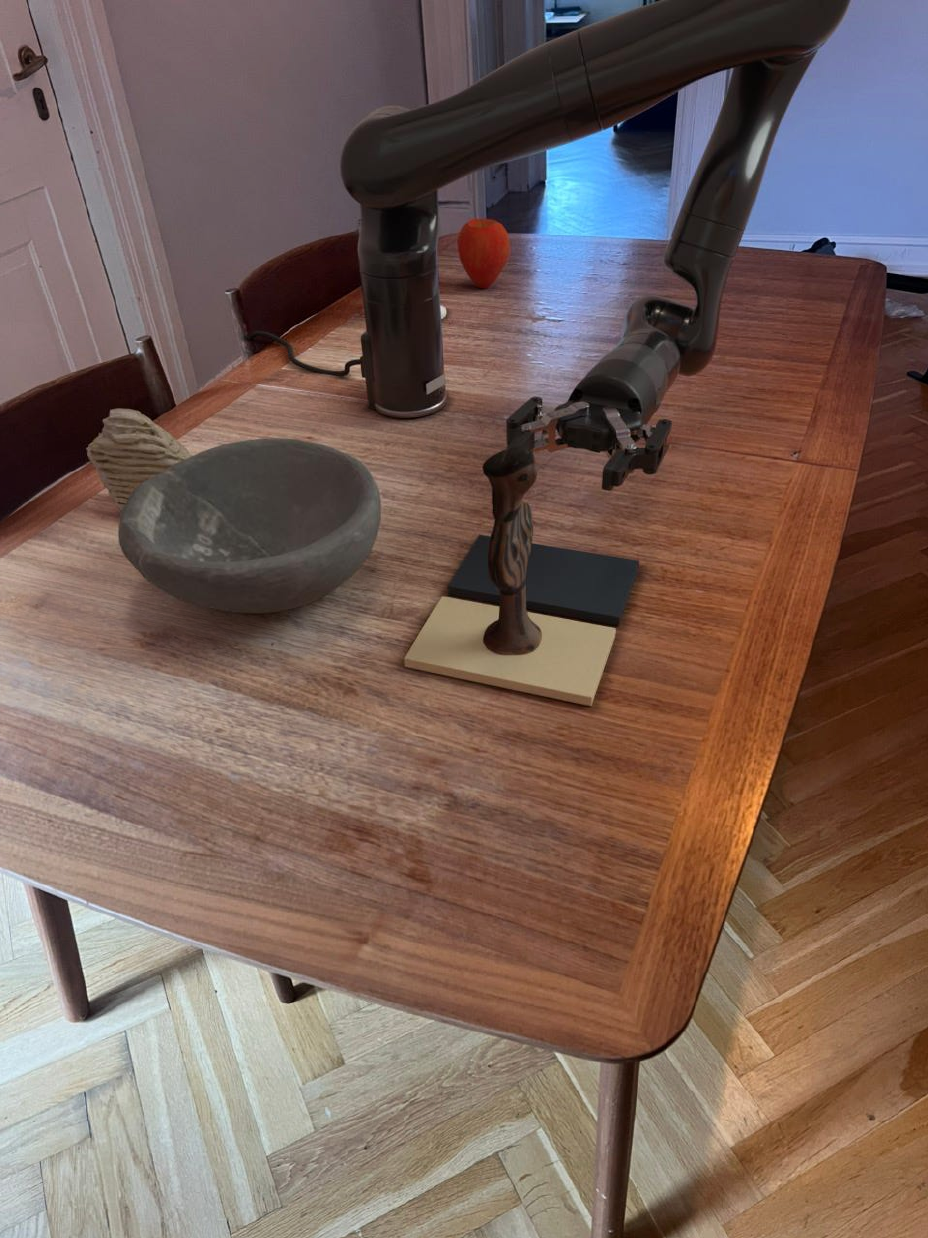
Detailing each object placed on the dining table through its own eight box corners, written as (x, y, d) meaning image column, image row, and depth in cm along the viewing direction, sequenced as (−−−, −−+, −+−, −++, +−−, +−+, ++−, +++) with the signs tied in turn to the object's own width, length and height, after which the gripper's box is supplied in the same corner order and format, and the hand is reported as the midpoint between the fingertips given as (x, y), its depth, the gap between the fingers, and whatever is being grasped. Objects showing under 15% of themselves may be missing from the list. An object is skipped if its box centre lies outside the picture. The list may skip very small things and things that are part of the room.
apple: (519, 282, 149) (519, 214, 142) (493, 298, 144) (492, 227, 137) (476, 275, 153) (474, 208, 146) (449, 290, 148) (445, 221, 141)
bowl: (280, 695, 72) (257, 598, 66) (96, 611, 82) (61, 520, 76) (435, 554, 87) (428, 464, 81) (264, 497, 97) (246, 413, 91)
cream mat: (404, 667, 74) (403, 658, 74) (442, 604, 81) (441, 595, 80) (591, 706, 70) (591, 697, 69) (615, 636, 76) (616, 627, 76)
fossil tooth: (212, 540, 93) (88, 511, 96) (240, 507, 98) (121, 480, 100) (193, 446, 85) (58, 417, 88) (225, 414, 90) (95, 388, 93)
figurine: (523, 676, 71) (524, 481, 60) (466, 661, 73) (456, 469, 62) (552, 621, 77) (557, 433, 65) (498, 609, 78) (494, 423, 67)
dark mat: (448, 594, 82) (447, 586, 81) (479, 542, 89) (479, 534, 88) (618, 626, 77) (619, 617, 77) (638, 568, 84) (639, 560, 83)
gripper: (553, 347, 87) (481, 416, 75) (697, 368, 81) (643, 446, 70) (551, 417, 91) (484, 492, 80) (687, 442, 86) (635, 526, 75)
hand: (558, 471), depth 75 cm, fingers open, 8 cm apart
